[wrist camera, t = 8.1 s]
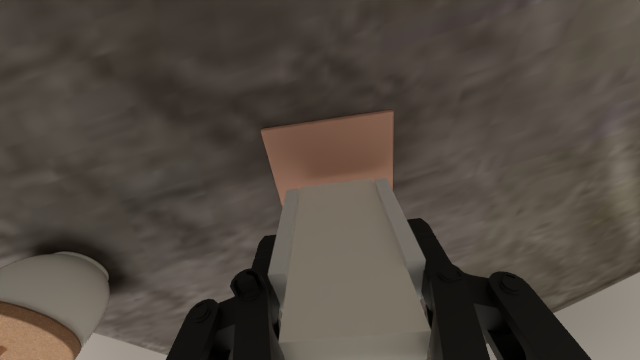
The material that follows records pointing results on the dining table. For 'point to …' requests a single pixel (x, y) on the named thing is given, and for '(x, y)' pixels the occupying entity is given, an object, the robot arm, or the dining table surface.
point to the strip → (331, 151)
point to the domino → (349, 282)
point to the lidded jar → (50, 305)
